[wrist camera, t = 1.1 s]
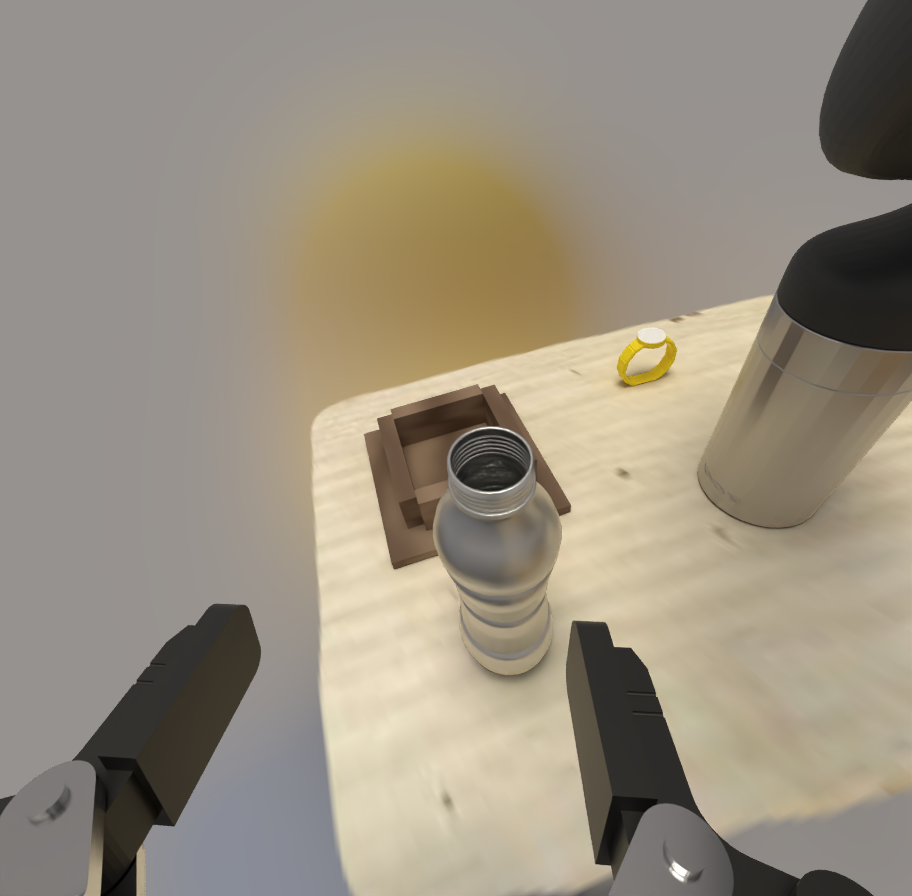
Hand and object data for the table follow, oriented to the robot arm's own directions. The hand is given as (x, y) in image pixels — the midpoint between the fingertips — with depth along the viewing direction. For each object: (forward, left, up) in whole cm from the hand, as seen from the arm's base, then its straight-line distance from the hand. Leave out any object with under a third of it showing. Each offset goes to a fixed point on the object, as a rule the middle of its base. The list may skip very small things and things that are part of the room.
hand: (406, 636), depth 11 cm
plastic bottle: (-4, -7, -23) cm, 24 cm away
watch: (-28, -28, -23) cm, 46 cm away
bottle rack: (-5, -23, -23) cm, 33 cm away
